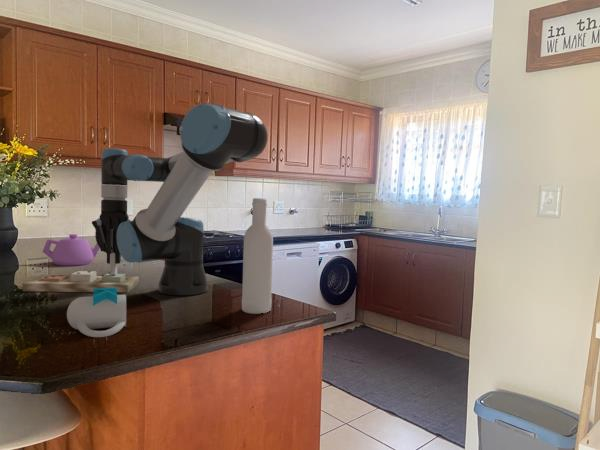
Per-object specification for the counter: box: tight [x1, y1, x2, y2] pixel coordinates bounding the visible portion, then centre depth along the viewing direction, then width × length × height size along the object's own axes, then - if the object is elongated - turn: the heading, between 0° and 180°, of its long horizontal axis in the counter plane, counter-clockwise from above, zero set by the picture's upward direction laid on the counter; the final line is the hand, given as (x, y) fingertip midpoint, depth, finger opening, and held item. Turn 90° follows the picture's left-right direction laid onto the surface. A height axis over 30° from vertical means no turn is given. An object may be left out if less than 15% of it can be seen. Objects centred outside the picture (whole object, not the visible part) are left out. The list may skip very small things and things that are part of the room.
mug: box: [66, 287, 127, 338], centre depth 98 cm, size 12×9×12 cm
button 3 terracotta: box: [40, 274, 68, 282], centre depth 138 cm, size 6×6×3 cm
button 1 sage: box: [102, 273, 127, 282], centre depth 140 cm, size 6×6×3 cm
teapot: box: [42, 233, 100, 267], centre depth 183 cm, size 22×16×12 cm
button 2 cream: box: [70, 270, 97, 282], centre depth 139 cm, size 6×6×3 cm
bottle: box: [241, 197, 274, 315], centre depth 119 cm, size 8×8×30 cm
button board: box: [22, 274, 140, 293], centre depth 139 cm, size 30×13×2 cm, turn 96°
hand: (113, 273), depth 140 cm, fingers closed
